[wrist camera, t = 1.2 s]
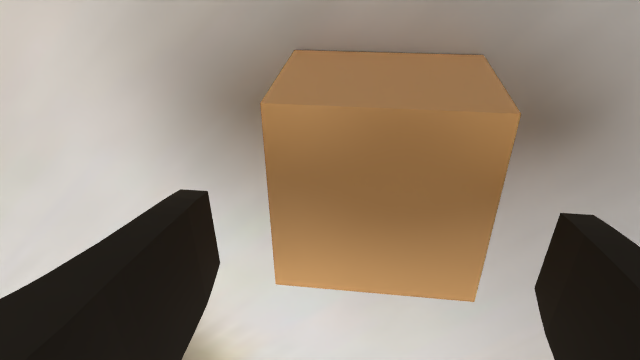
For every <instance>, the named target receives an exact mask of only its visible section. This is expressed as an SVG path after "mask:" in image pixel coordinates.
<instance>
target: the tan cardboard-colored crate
mask: <svg viewBox="0 0 640 360" xmlns="http://www.w3.org/2000/svg"><path fill="white" fill-rule="evenodd" d="M260 105H261V117H262V129H263V140H264V152H265V164H266V175H267V187H268V199H269V211H270V222H271V234H272V246H273V257H274V269H275V281H276V284H278V285H289V286H301V287H312V288H323V289H335V290H346V291H357V292H368V293H380V294H391V295H402V296H413V297H425V298H436V299H447V300H459V301H470V302H474V301H475V297H476V293H477V289H478V285H479V281H480V277H481V273H482V269H483V265H484V261H485V257H486V253H487V249H488V245H489V241H490V237H491V233H492V229H493V225H494V221H495V217H496V213H497V209H498V205H499V201H500V197H501V193H502V189H503V185H504V181H505V176H506V172H507V168H508V164H509V160H510V156H511V152H512V148H513V144H514V140H515V136H516V132H517V128H518V124H519V120H520V116H521V113H520V111H519V110H518V108H517V107H516V105H515V104H514V102H513V100H512V99H511V97H510V96H509V94H508V93H507V91H506V89H505V88H504V86H503V85H502V83H501V82H500V80H499V79H498V77H497V75H496V74H495V72H494V71H493V69H492V68H491V66H490V64H489V63H488V61H487V60H486V58H485V57H484V55H462V54H425V53H388V52H350V51H313V50H294V51H293V53H292V55H291V56H290V58H289V59H288V61H287V62H286V64H285V65H284V67H283V69H282V70H281V72H280V73H279V75H278V76H277V78H276V79H275V81H274V83H273V84H272V86H271V87H270V89H269V90H268V92H267V93H266V95H265V97H264V98H263V100H262V101H261V103H260Z"/></svg>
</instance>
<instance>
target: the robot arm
mask: <svg viewBox="0 0 640 360" xmlns="http://www.w3.org/2000/svg"><path fill="white" fill-rule="evenodd" d="M219 265H220V260H219V254H218V248H217V242H216V236H215V231H214V225H213V219H212V213H211V207H210V202H209V196H208V191H196V190H179V191H177V192H175V193H174V194H172V195H170V196H169V197H167V198H166V199H164V200H162V201H161V202H159V203H158V204H156V205H155V206H153V207H152V208H150V209H149V210H147V211H146V212H144V213H143V214H141V215H140V216H138V217H137V218H135V219H134V220H132V221H131V222H129V223H128V224H126V225H125V226H123V227H122V228H120V229H119V230H117V231H115V232H114V233H112V234H111V235H109V236H108V237H106V238H105V239H103V240H102V241H100V242H99V243H97V244H95V245H94V246H92V247H91V248H89V249H87V250H86V251H84V252H82V253H81V254H79V255H77V256H76V257H74V258H72V259H71V260H69V261H67V262H66V263H64V264H62V265H61V266H59V267H57V268H56V269H54V270H53V271H51V272H49V273H48V274H46V275H44V276H42V277H40V278H39V279H37V280H35V281H33V282H31V283H30V284H28V285H26V286H24V287H22V288H20V289H19V290H17V291H15V292H13V293H11V294H9V295H7V296H5V297H3V298H1V299H0V360H182V358H183V355H184V353H185V351H186V349H187V347H188V345H189V343H190V341H191V338H192V336H193V334H194V332H195V330H196V328H197V325H198V323H199V321H200V319H201V317H202V315H203V312H204V310H205V308H206V306H207V303H208V300H209V297H210V294H211V291H212V288H213V285H214V282H215V278H216V275H217V272H218V268H219ZM535 292H536V297H537V302H538V306H539V311H540V315H541V319H542V323H543V327H544V331H545V335H546V337H547V340H548V343H549V346H550V348H551V351H552V353H553V356H554V359H555V360H640V247H639V246H638V245H636V244H635V243H633V242H632V241H631V240H629V239H628V238H627V237H625V236H624V235H622V234H621V233H620V232H618V231H617V230H615V229H614V228H612V227H611V226H610V225H608V224H607V223H605V222H604V221H602V220H600V219H599V218H597V217H596V216H594V215H583V214H567V213H560V216H559V219H558V222H557V224H556V227H555V230H554V233H553V236H552V239H551V242H550V245H549V248H548V251H547V253H546V256H545V259H544V262H543V265H542V268H541V271H540V274H539V277H538V280H537V282H536V285H535Z"/></svg>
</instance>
